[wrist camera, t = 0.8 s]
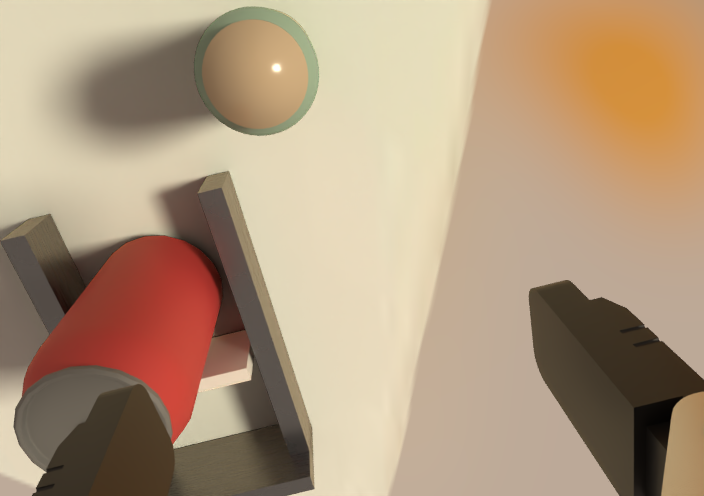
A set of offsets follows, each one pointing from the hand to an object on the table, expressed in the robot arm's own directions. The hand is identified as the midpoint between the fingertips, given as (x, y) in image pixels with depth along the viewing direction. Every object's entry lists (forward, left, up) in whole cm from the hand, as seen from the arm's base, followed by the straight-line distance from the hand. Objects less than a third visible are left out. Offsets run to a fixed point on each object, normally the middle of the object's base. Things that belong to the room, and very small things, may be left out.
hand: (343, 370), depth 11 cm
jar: (-5, -1, -19) cm, 20 cm away
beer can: (+5, -10, -20) cm, 23 cm away
